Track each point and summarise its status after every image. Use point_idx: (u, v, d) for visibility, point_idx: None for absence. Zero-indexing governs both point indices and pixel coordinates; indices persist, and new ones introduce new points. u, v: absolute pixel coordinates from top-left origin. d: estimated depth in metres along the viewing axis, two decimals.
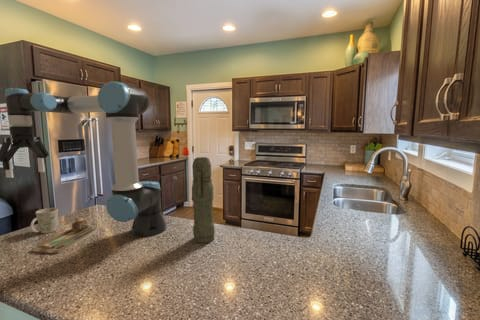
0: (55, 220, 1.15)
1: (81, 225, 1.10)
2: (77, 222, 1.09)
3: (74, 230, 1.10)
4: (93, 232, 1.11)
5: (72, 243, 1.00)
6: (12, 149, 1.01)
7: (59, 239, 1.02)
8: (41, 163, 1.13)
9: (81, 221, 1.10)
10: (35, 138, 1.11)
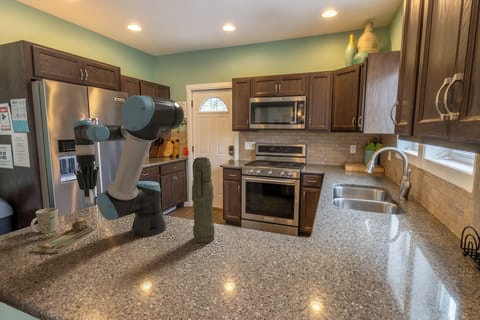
0: (55, 220, 1.15)
1: (81, 225, 1.10)
2: (77, 222, 1.09)
3: (74, 230, 1.10)
4: (93, 232, 1.11)
5: (72, 243, 1.00)
6: (85, 178, 1.14)
7: (59, 239, 1.02)
8: None
9: (81, 221, 1.10)
10: (95, 167, 1.20)
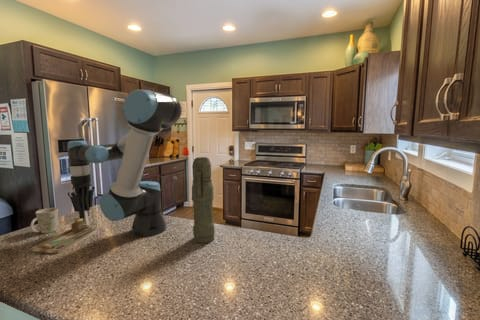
0: (55, 220, 1.15)
1: (80, 225, 1.09)
2: (76, 222, 1.09)
3: (73, 230, 1.09)
4: (93, 232, 1.11)
5: (72, 243, 1.00)
6: (80, 199, 1.11)
7: (59, 239, 1.02)
8: None
9: (80, 221, 1.10)
10: (90, 187, 1.17)
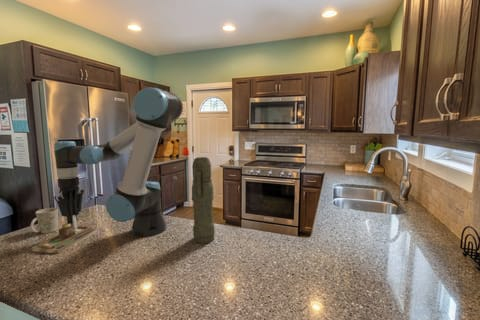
0: (55, 220, 1.15)
1: (68, 231, 1.03)
2: (64, 228, 1.03)
3: (61, 236, 1.03)
4: (93, 232, 1.11)
5: (72, 243, 1.00)
6: (67, 204, 1.05)
7: (59, 239, 1.02)
8: None
9: (68, 227, 1.04)
10: (79, 190, 1.11)
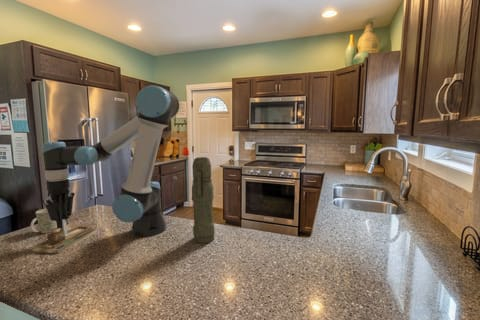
0: None
1: (57, 236, 0.98)
2: (53, 233, 0.98)
3: (49, 242, 0.98)
4: (93, 232, 1.11)
5: (72, 243, 1.00)
6: (57, 207, 1.00)
7: None
8: None
9: (57, 232, 0.99)
10: (70, 193, 1.06)
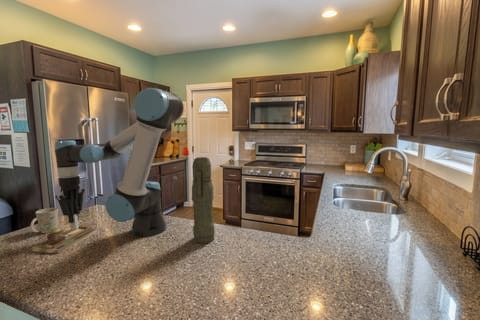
0: (55, 220, 1.15)
1: (57, 236, 0.98)
2: (53, 233, 0.98)
3: (49, 242, 0.98)
4: (93, 232, 1.11)
5: (72, 243, 1.00)
6: (69, 203, 1.05)
7: None
8: None
9: (57, 232, 0.99)
10: (80, 189, 1.11)
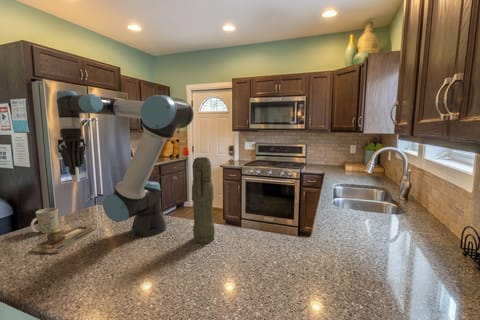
0: (55, 220, 1.15)
1: (57, 236, 0.98)
2: (53, 233, 0.98)
3: (49, 242, 0.98)
4: (93, 232, 1.11)
5: (72, 243, 1.00)
6: (70, 154, 1.05)
7: None
8: None
9: (57, 232, 0.99)
10: (81, 143, 1.11)
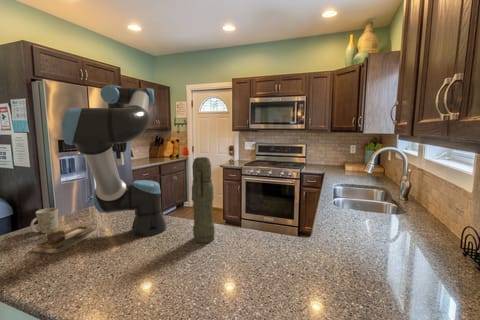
0: (55, 220, 1.15)
1: (57, 236, 0.98)
2: (53, 233, 0.98)
3: (49, 242, 0.98)
4: (93, 232, 1.11)
5: (72, 243, 1.00)
6: None
7: None
8: None
9: (57, 232, 0.99)
10: None
